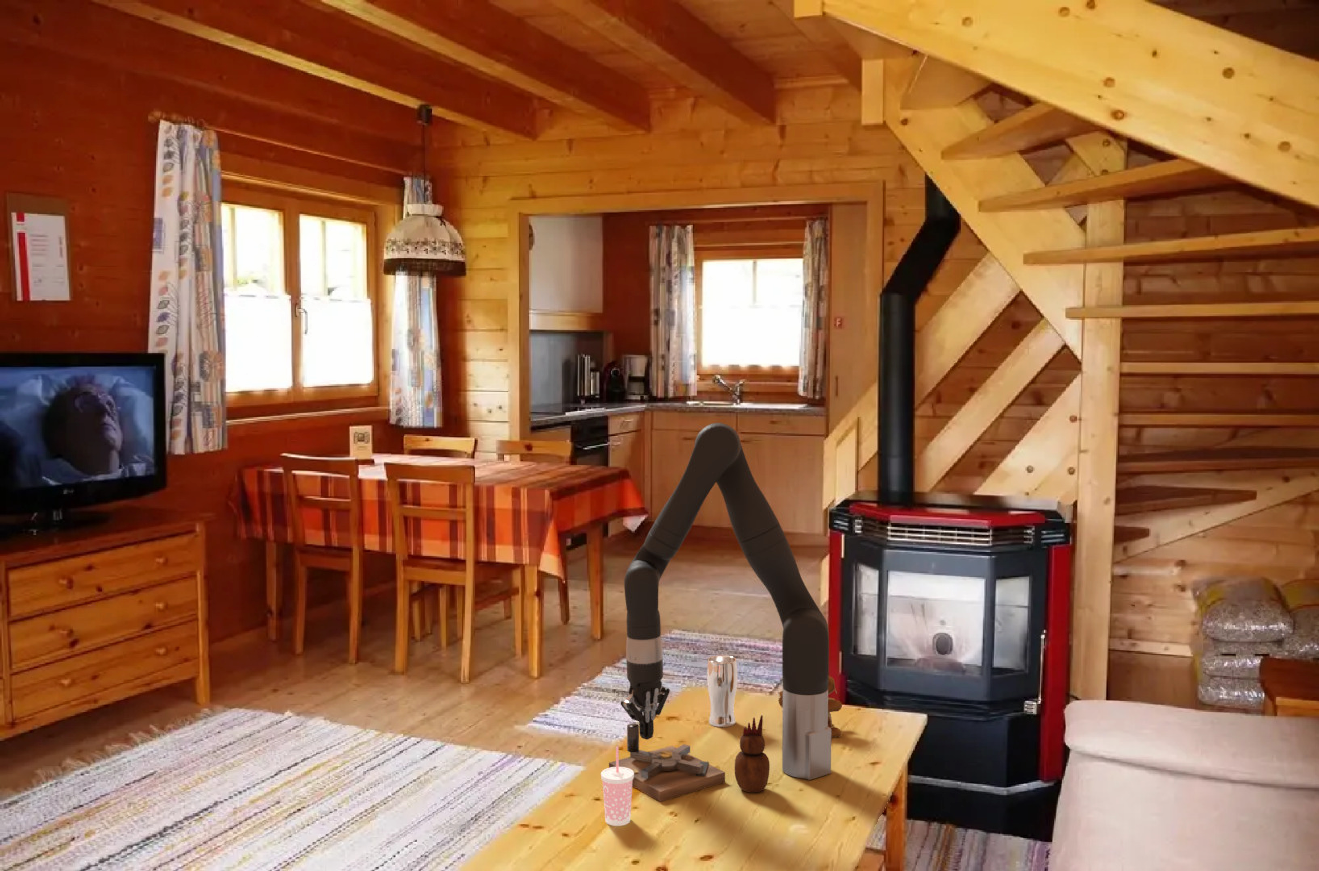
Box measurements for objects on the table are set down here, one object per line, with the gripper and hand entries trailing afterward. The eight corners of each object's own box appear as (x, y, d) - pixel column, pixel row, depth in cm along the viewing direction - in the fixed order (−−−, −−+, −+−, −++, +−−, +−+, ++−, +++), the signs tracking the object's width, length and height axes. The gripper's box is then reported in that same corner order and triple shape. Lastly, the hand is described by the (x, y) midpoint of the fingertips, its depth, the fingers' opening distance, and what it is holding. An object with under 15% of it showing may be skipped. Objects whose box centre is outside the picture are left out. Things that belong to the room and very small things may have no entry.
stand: (726, 781, 218) (726, 770, 218) (659, 802, 208) (659, 790, 208) (673, 754, 232) (673, 743, 232) (608, 772, 223) (607, 761, 223)
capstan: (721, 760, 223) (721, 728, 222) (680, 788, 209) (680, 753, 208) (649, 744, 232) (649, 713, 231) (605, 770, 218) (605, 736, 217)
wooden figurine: (773, 787, 215) (773, 713, 214) (763, 798, 210) (763, 722, 209) (741, 781, 218) (741, 708, 217) (730, 792, 213) (730, 717, 211)
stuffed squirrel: (844, 738, 242) (845, 680, 240) (781, 738, 242) (781, 680, 241) (837, 722, 252) (838, 667, 250) (776, 722, 252) (776, 667, 250)
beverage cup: (602, 813, 203) (601, 740, 202) (635, 813, 203) (634, 740, 202) (599, 827, 197) (599, 752, 196) (633, 827, 197) (632, 752, 196)
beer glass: (738, 728, 248) (738, 663, 247) (707, 728, 248) (707, 663, 247) (736, 717, 255) (736, 655, 254) (706, 717, 255) (706, 655, 254)
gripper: (635, 668, 218) (637, 751, 219) (679, 652, 227) (681, 732, 229) (609, 661, 223) (611, 743, 224) (652, 646, 232) (655, 724, 234)
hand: (646, 737), depth 227 cm, fingers closed
